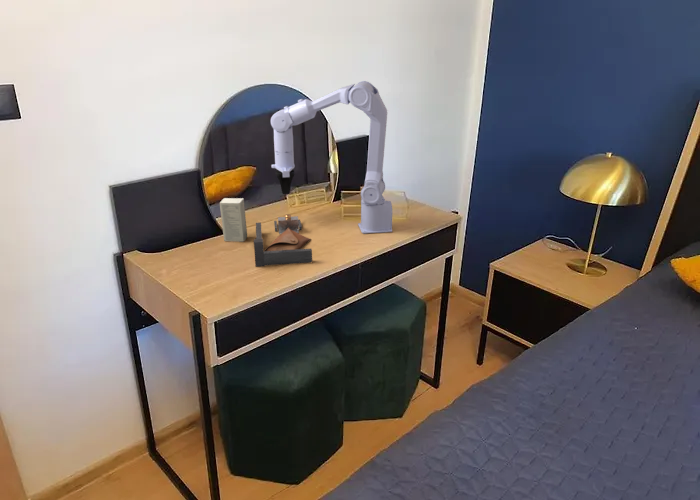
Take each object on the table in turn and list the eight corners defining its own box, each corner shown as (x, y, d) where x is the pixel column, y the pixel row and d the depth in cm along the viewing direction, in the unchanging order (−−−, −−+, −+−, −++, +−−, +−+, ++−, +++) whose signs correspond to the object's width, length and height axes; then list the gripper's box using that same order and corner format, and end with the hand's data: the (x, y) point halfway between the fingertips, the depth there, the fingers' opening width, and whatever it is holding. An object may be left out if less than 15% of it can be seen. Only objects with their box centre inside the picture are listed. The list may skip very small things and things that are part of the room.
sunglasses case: (292, 262, 154) (279, 242, 152) (271, 272, 156) (258, 252, 155) (312, 238, 170) (300, 219, 168) (293, 247, 172) (282, 229, 171)
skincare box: (247, 236, 171) (244, 198, 166) (243, 242, 167) (240, 203, 162) (227, 235, 172) (223, 197, 167) (222, 241, 168) (219, 202, 163)
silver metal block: (298, 229, 176) (297, 213, 174) (298, 232, 173) (298, 216, 171) (278, 230, 175) (277, 214, 173) (279, 233, 172) (278, 217, 170)
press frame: (303, 222, 182) (302, 202, 179) (312, 263, 154) (311, 239, 151) (254, 225, 180) (253, 204, 177) (255, 266, 151) (253, 242, 149)
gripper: (270, 145, 178) (272, 187, 184) (271, 156, 165) (273, 201, 170) (292, 144, 179) (294, 186, 185) (295, 156, 166) (297, 200, 171)
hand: (285, 193), depth 178 cm, fingers closed
